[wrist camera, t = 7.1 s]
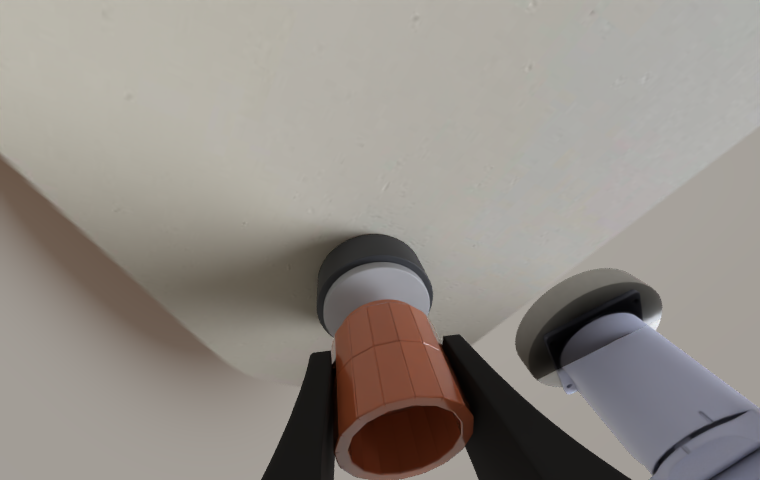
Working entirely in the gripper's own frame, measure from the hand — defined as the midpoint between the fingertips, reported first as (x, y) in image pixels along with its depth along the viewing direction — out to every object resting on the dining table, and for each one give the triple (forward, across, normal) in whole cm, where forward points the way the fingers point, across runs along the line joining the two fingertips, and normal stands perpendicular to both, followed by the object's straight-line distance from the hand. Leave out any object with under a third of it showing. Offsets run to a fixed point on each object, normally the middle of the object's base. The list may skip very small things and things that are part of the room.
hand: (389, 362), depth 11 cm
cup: (+1, 0, 0) cm, 1 cm away
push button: (+5, 0, 0) cm, 5 cm away
